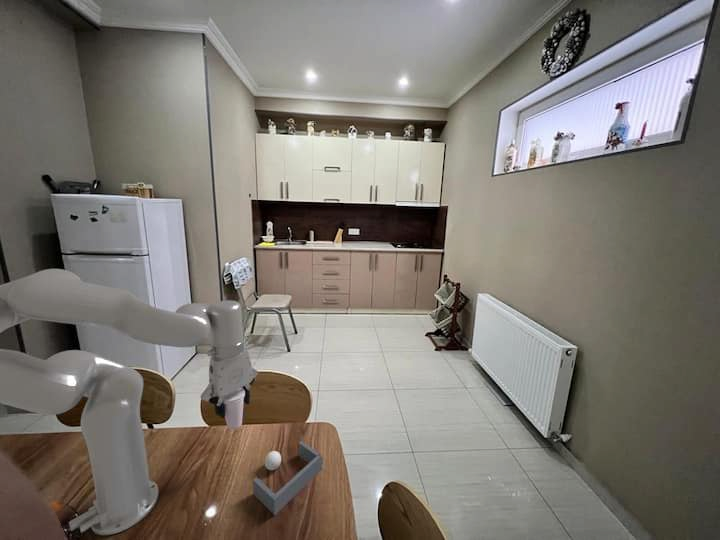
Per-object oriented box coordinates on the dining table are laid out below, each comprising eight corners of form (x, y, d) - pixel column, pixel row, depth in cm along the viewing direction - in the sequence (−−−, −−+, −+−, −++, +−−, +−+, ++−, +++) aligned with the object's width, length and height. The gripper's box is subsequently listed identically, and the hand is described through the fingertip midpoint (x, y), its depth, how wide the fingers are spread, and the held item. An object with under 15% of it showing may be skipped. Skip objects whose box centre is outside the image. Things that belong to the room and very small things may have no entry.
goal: (274, 515, 68) (274, 499, 67) (253, 494, 73) (253, 479, 72) (322, 469, 81) (322, 455, 80) (301, 453, 86) (301, 440, 85)
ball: (271, 477, 78) (271, 463, 77) (261, 468, 80) (261, 454, 79) (284, 466, 81) (284, 452, 80) (274, 458, 84) (274, 444, 83)
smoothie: (237, 435, 75) (234, 387, 73) (216, 431, 77) (212, 384, 74) (251, 418, 81) (248, 374, 79) (231, 415, 83) (228, 371, 80)
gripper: (200, 366, 66) (208, 433, 69) (265, 340, 79) (268, 398, 83) (186, 356, 70) (193, 420, 73) (250, 333, 84) (253, 388, 87)
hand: (233, 408), depth 78 cm, fingers closed on smoothie, 6 cm apart
